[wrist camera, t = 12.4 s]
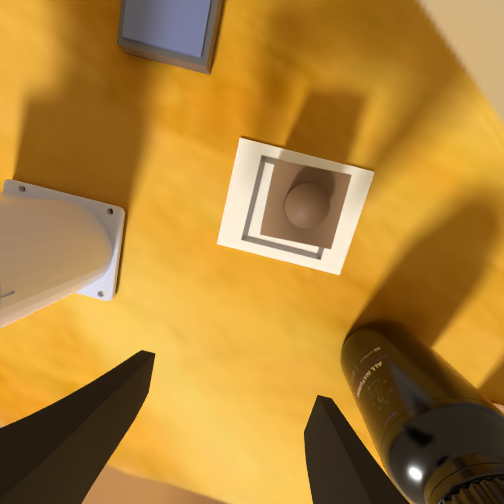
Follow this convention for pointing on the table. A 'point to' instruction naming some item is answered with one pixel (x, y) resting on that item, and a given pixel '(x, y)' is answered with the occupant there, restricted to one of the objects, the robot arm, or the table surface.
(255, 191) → the form sheet
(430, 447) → the supplement bottle
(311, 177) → the stamp
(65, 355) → the table surface
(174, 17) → the ink pad
